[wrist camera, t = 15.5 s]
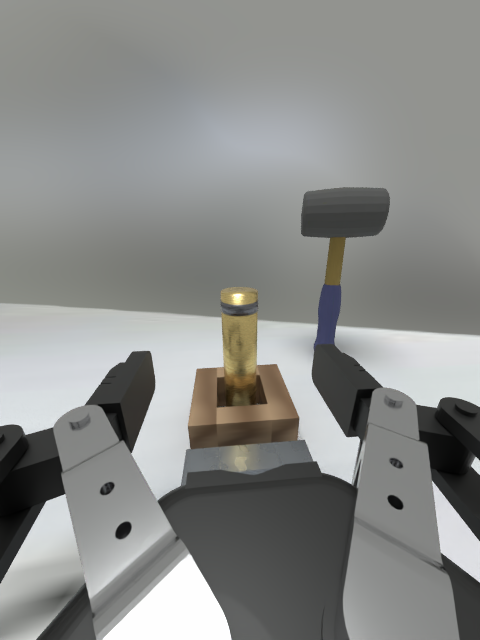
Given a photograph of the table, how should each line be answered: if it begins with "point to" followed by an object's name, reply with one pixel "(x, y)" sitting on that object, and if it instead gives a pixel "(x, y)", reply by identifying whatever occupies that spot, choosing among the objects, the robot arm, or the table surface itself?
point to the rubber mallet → (340, 238)
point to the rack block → (241, 411)
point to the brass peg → (239, 344)
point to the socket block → (246, 457)
